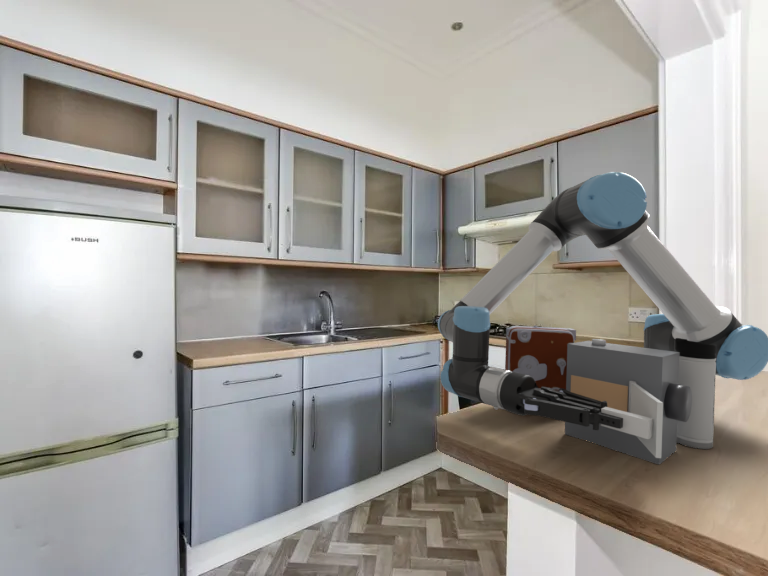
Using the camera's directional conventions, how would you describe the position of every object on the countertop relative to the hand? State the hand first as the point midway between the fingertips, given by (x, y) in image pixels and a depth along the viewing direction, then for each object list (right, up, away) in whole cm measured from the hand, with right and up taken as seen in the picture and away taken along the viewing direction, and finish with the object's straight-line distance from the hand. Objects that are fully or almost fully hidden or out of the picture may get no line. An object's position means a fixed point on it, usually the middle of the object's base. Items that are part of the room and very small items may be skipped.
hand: (650, 428), depth 57 cm
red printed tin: (0, -9, +34) cm, 35 cm away
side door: (+2, -4, +5) cm, 7 cm away
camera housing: (+6, -9, +16) cm, 20 cm away
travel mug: (+20, -9, +18) cm, 29 cm away
